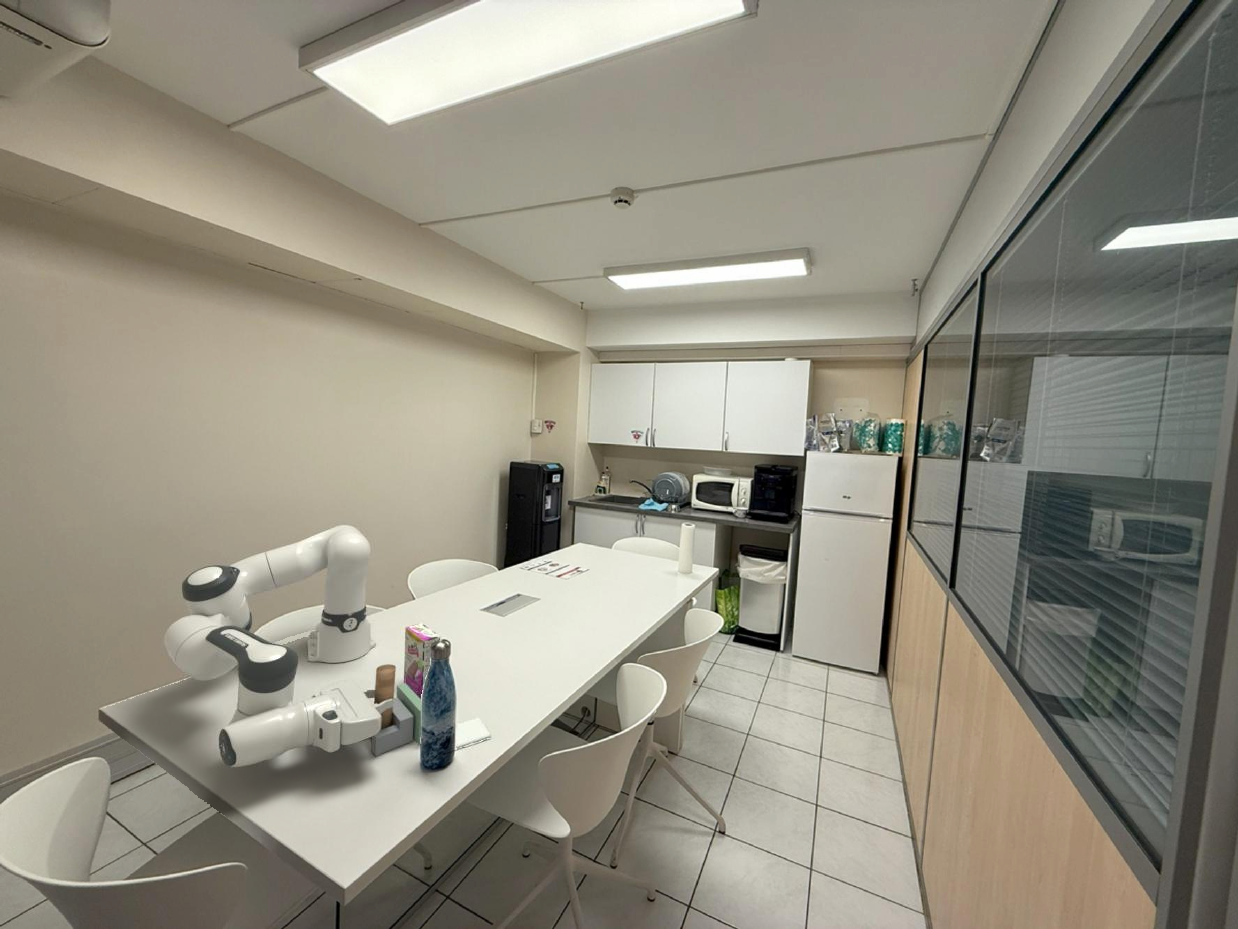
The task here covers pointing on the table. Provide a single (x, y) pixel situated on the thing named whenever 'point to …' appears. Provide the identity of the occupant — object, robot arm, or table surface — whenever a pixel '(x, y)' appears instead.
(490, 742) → the table surface
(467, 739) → the external hard drive
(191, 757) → the table surface
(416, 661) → the candy bar box
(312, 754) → the table surface
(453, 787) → the table surface
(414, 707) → the wall
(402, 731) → the block
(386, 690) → the dowel
